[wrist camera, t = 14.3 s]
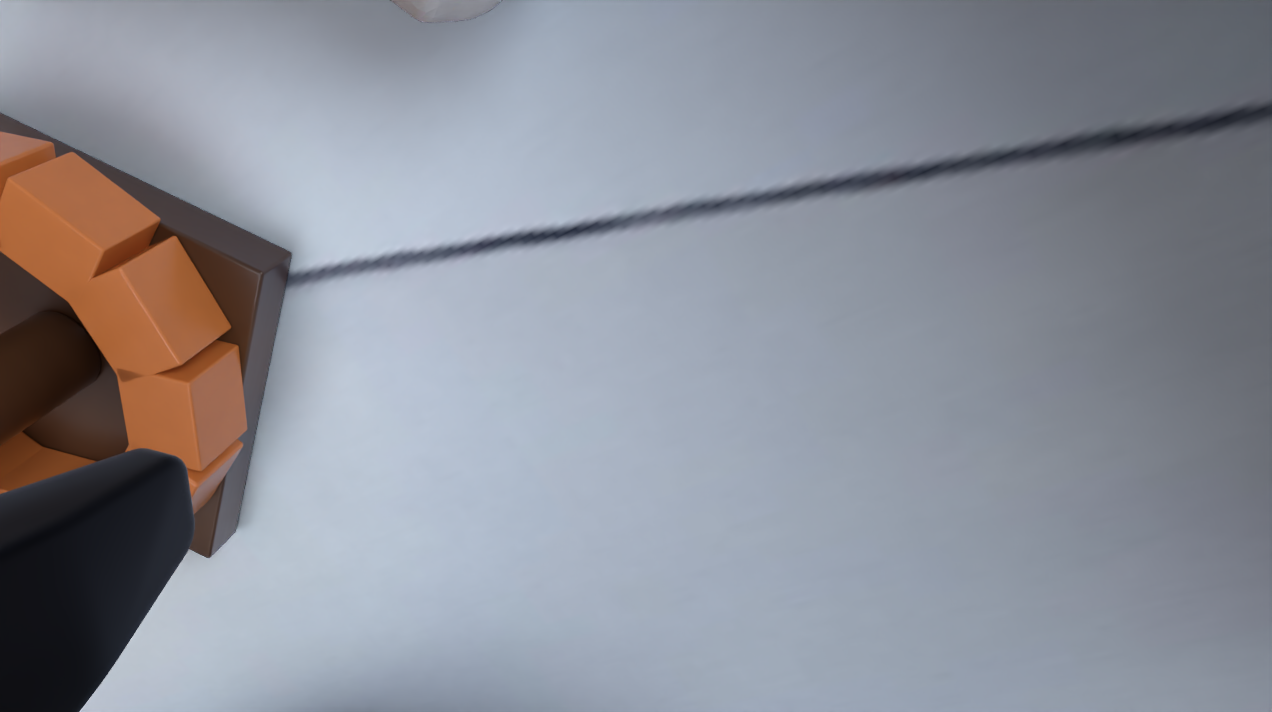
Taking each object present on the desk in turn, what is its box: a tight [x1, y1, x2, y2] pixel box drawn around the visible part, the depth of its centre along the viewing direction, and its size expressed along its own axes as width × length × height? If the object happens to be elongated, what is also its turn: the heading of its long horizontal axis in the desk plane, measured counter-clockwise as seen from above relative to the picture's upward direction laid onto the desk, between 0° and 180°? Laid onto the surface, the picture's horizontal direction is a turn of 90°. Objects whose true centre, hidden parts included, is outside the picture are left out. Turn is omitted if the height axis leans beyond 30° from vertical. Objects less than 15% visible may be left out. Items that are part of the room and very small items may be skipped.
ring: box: [0, 131, 247, 514], centre depth 24 cm, size 10×10×2 cm
